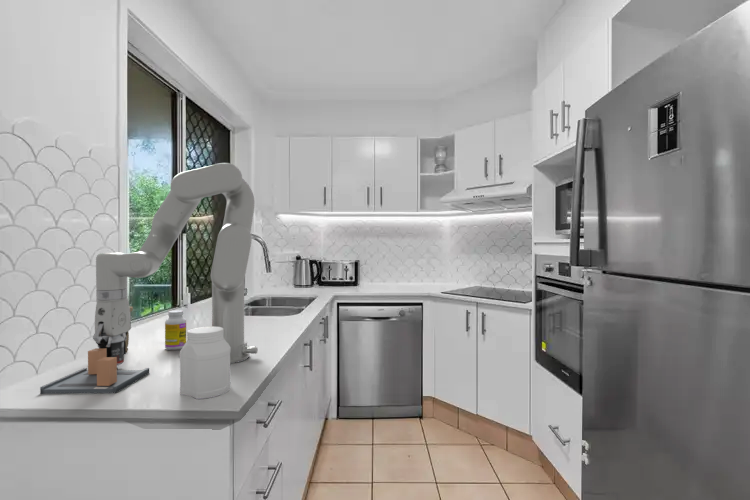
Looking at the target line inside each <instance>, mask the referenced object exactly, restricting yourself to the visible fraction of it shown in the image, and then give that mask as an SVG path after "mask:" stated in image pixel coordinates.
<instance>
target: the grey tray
mask: <svg viewBox="0 0 750 500" xmlns="http://www.w3.org/2000/svg"><path fill="white" fill-rule="evenodd" d="M148 375H150V368H149V367H145V368H144V369H131V370H130V369H117V382H115V383H113V384H112V385H110V386H97V374H88V367H87V368H86V367H84V368H81V369H79V370H77V371H74V372H72V373H69V374H67V375H65V376H63V377H60V378H58V379H56V380H54V381H51V382H49V383H47V384H44V385H42V386H40V387H39V390H40V391H39V392H40V394H41V395H44V394H45V395H46V394H49V395H51V394H58V395H59V394H61V395H62V394H117V393H119V392H121V391H122V390H123V389H125V388H128V387H129V386H131V385H132V384H134V383H135V382H138V381H139V380H141V379H143V378H144V377H146V376H148Z"/></svg>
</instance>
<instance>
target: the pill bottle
mask: <svg viewBox="0 0 750 500" xmlns="http://www.w3.org/2000/svg"><path fill="white" fill-rule="evenodd" d="M104 336H108V335H107V334H104ZM104 340H105V341H107V338H104ZM110 347H112V357H117V366H121V365H122V364H123V363H125V355H124V338H123V337H122V336H121V334H120V335H117V336H114V337H112V339H111V344H110Z"/></svg>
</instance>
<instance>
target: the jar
mask: <svg viewBox="0 0 750 500" xmlns="http://www.w3.org/2000/svg"><path fill="white" fill-rule="evenodd" d="M223 332H224V331H223V328H222V327H212V326H199V327H194V328H191V329H188V330H186V343H185V345H184V346H183V348H182V349H180V351H179V368H180V369H179V378H180V381H179V382H180V383H179V386H180V387H179V394H180V395H183V396H189V397H192V398H194V399H196V400H204V399H209V398H211V399H212V398H215V397H218V396H222V395H224V394H226V393H228V392H229V391H230V389H231V388H232V387H231V386H232V385H231V384H232V383H231V363H230V352H231V348H230V346H229V344H228V343H227V342H226V340H225V339H224V337H223ZM221 394H222V395H221Z"/></svg>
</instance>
